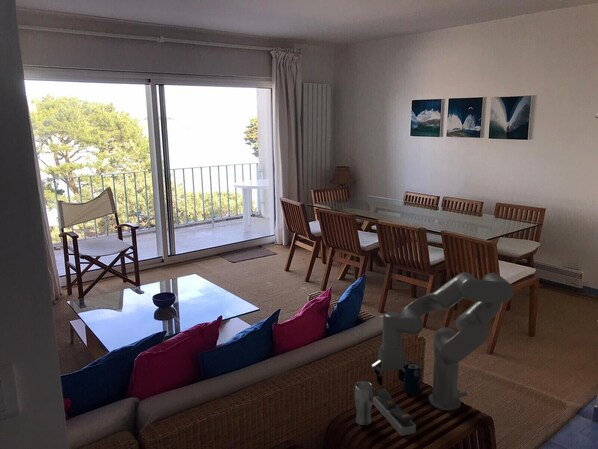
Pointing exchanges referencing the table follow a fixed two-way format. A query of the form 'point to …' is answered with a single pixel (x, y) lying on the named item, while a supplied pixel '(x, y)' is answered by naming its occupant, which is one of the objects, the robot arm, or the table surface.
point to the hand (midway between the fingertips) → (390, 382)
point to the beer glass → (363, 402)
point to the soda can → (412, 379)
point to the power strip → (394, 418)
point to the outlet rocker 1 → (386, 398)
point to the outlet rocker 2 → (401, 414)
